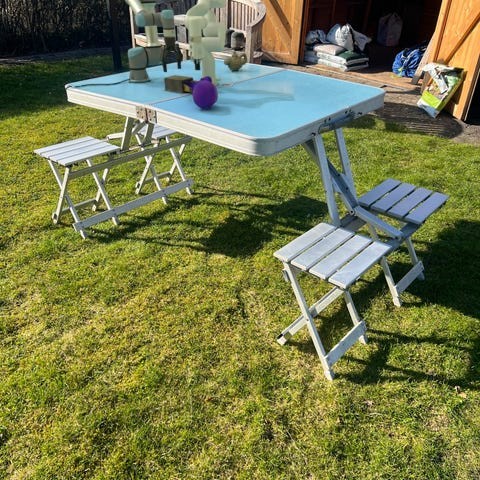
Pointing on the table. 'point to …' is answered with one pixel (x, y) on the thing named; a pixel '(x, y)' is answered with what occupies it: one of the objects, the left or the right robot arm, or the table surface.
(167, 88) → the brown block
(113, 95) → the table surface
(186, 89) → the drawer
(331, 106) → the table surface
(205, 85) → the toy
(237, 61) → the teapot
